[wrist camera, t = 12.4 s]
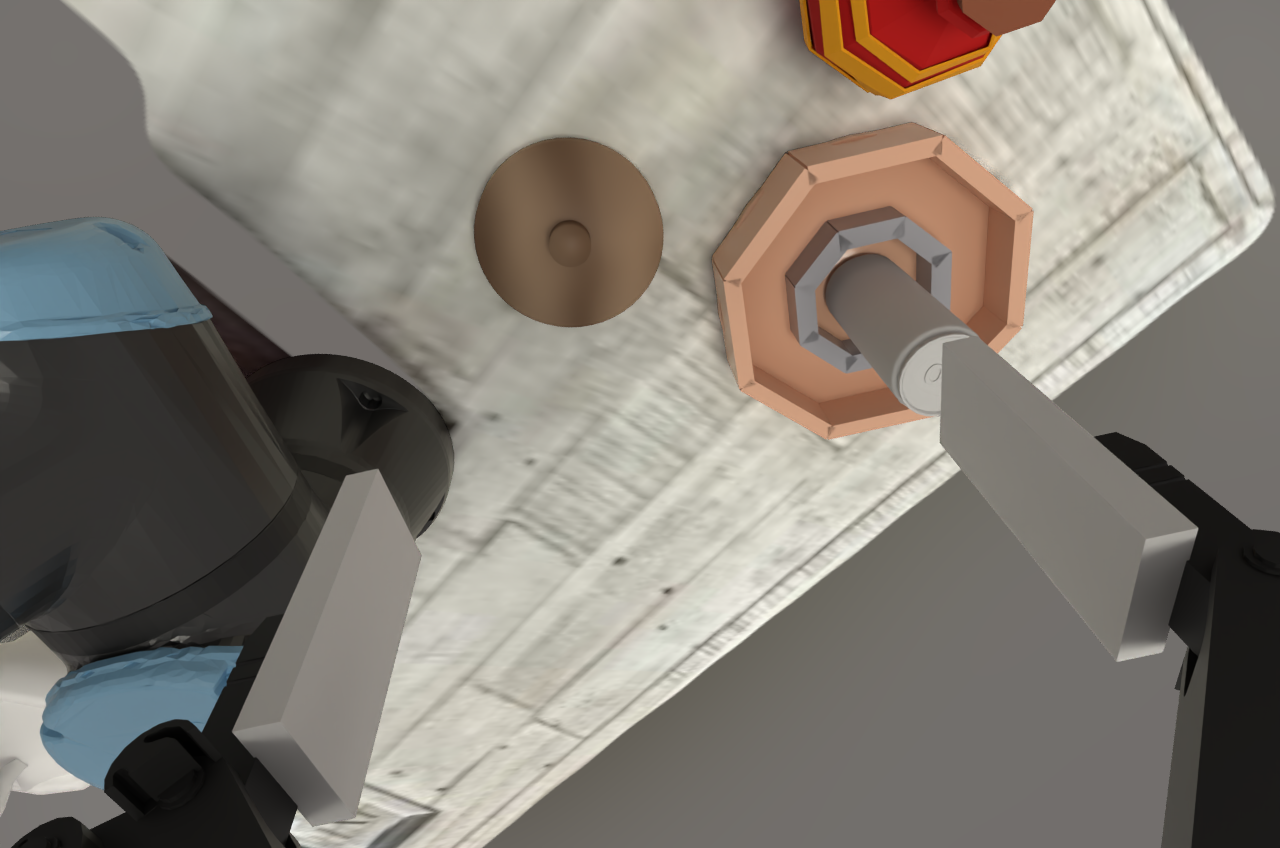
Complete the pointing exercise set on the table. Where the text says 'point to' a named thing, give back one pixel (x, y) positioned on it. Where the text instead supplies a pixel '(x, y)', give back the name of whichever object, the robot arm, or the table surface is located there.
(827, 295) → the beverage can
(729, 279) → the dish
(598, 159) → the walnut lid
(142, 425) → the robot arm
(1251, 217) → the table surface
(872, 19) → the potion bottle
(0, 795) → the potted plant
